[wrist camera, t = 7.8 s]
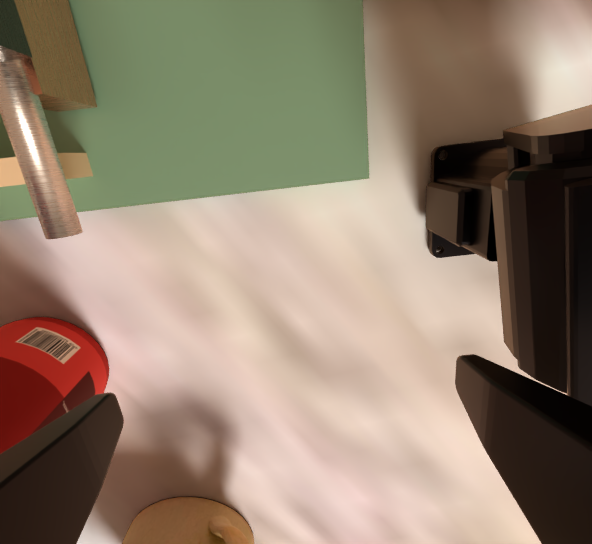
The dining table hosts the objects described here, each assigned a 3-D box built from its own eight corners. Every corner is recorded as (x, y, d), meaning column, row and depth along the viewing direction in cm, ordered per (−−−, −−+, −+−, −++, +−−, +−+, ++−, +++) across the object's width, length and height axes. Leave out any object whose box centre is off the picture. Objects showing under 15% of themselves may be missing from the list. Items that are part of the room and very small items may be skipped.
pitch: (349, -209, 14) (371, -338, 11) (365, 177, 20) (383, 182, 16) (-152, -142, 15) (-302, -243, 11) (-5, 219, 20) (-72, 235, 16)
